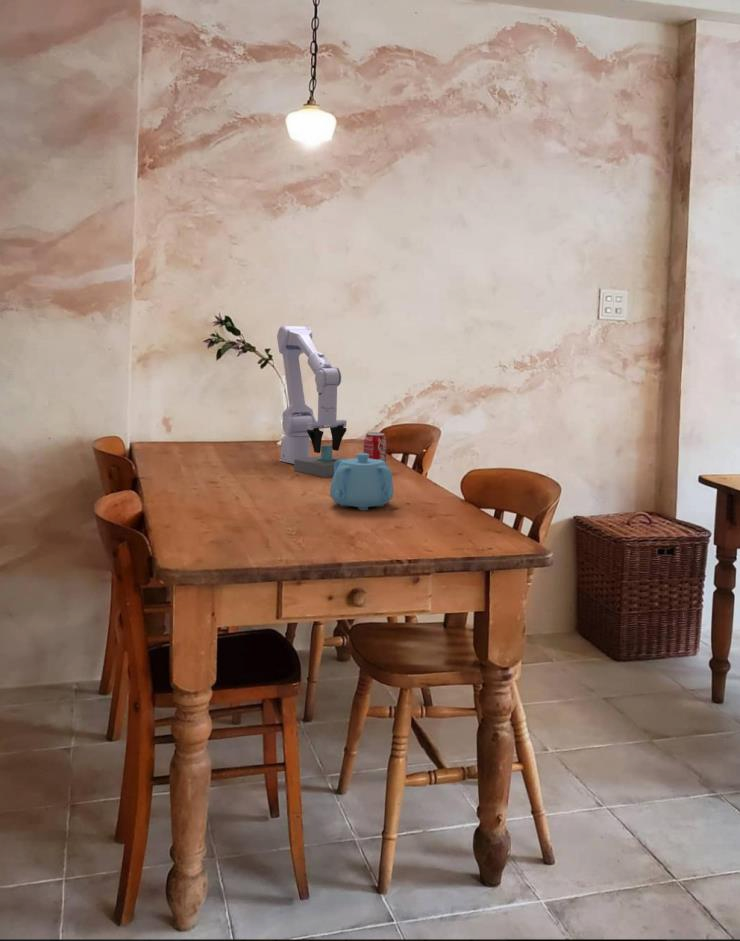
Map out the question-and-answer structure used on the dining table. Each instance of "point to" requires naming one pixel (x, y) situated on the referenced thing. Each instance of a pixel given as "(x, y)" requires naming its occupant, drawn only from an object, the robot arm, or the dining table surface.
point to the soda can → (375, 445)
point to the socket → (316, 466)
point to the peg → (326, 453)
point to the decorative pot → (362, 482)
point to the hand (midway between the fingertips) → (326, 451)
